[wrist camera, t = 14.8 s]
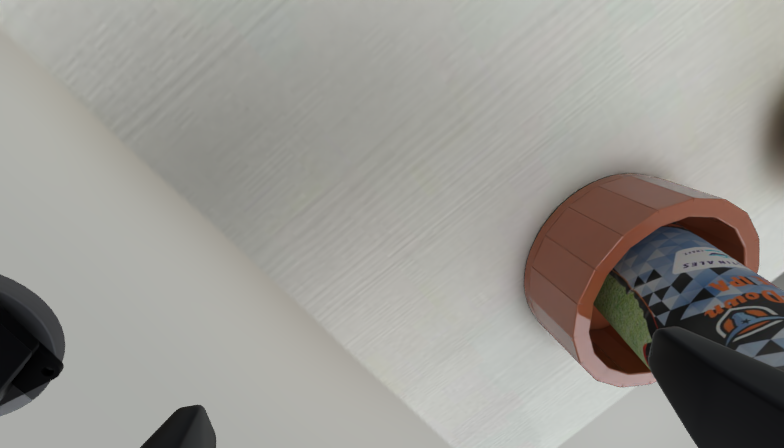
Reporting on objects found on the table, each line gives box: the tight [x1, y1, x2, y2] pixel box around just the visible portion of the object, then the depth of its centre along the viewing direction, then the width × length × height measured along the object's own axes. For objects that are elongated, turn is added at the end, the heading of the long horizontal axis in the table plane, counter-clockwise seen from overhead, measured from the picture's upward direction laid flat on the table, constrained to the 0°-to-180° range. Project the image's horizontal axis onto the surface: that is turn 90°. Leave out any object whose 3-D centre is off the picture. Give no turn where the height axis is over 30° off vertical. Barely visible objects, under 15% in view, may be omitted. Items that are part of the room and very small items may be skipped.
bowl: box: [524, 173, 759, 387], centre depth 22 cm, size 11×11×4 cm
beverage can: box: [593, 222, 784, 371], centre depth 18 cm, size 6×7×12 cm
